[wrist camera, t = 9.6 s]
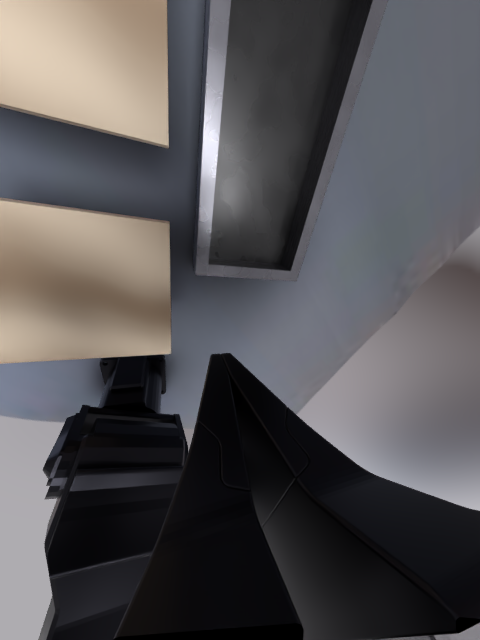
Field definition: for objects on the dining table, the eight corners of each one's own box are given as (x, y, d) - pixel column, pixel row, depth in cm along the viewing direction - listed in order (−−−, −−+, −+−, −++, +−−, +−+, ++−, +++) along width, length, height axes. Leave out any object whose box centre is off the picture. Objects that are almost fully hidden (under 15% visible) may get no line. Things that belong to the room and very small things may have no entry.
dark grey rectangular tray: (285, 272, 22) (296, 281, 20) (192, 265, 19) (195, 274, 17) (378, -48, 12) (418, -94, 10) (213, -177, 9) (226, -281, 7)
